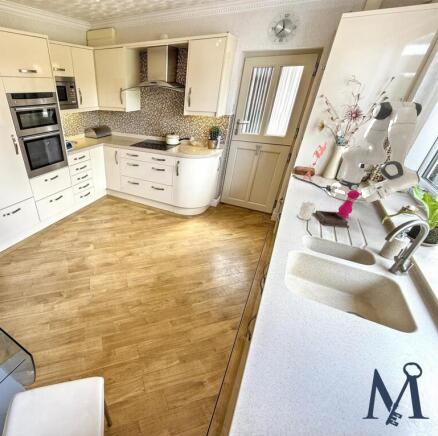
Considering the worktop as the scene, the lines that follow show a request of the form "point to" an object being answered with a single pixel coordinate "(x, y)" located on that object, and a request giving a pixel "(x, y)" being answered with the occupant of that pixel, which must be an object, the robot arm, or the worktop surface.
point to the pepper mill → (348, 203)
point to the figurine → (317, 158)
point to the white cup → (306, 210)
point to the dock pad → (330, 218)
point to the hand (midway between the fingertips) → (354, 199)
